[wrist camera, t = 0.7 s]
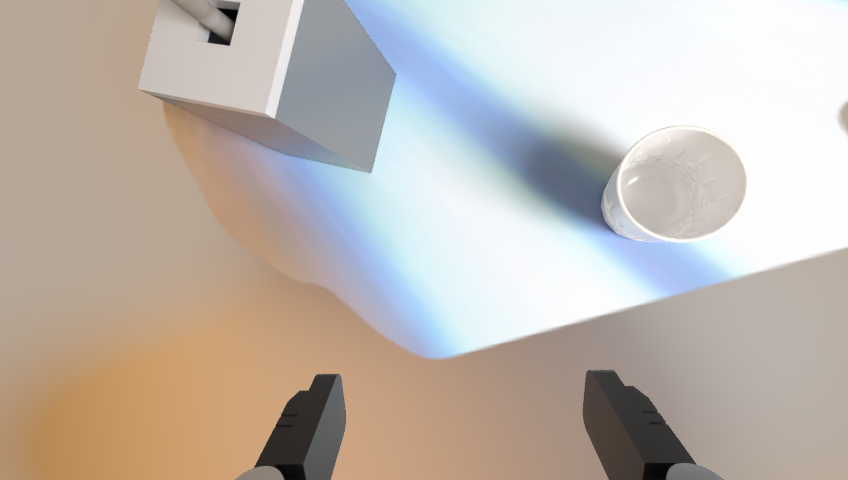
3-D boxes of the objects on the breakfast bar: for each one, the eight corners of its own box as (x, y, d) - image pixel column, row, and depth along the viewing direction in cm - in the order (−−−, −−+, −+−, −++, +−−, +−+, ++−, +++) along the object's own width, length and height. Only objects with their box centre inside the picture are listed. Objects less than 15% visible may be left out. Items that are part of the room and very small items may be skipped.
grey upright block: (308, 61, 46) (174, -61, 29) (396, 74, 43) (306, -53, 26) (285, 154, 46) (137, 89, 29) (371, 173, 43) (265, 113, 26)
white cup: (583, 175, 38) (602, 146, 28) (674, 150, 36) (727, 109, 26) (607, 256, 37) (635, 254, 27) (701, 234, 35) (767, 224, 25)
